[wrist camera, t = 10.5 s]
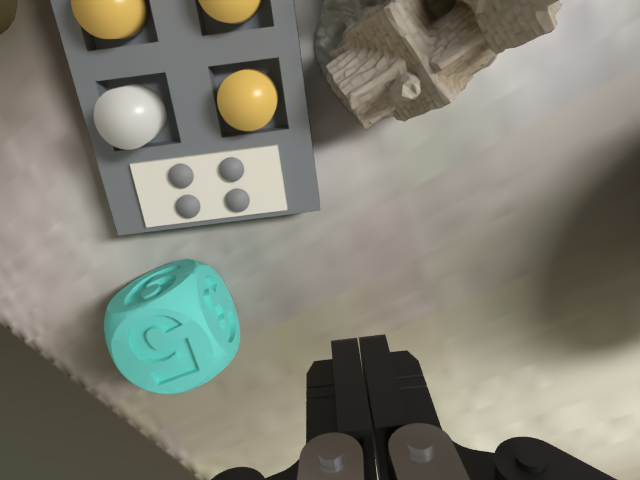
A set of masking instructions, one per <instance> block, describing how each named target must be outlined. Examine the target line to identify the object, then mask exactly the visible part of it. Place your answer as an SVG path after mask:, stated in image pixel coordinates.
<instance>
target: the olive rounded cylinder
mask: <svg viewBox="0 0 640 480" xmlns="http://www.w3.org/2000/svg"><path fill="white" fill-rule="evenodd" d="M16 8H17V0H0V34H1V33H3V32H4V31H5V30H7V29H8V28H9V26H10V25H11V23H12V21H13V20H14V18H15V13H16Z"/></svg>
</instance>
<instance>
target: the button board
mask: <svg viewBox="0 0 640 480" xmlns="http://www.w3.org/2000/svg"><path fill="white" fill-rule="evenodd" d="M50 1H51V5H52V8H53V12H54V15H55V19H56V22H57V26H58V29H59V33H60V36H61V40H62V43H63V47H64V50H65V53H66V57H67V60H68V64H69V67H70V71H71V74H72V78H73V81H74V85H75V88H76V92H77V95H78V98H79V102H80V105H81V109H82V112H83V116H84V119H85V123H86V126H87V130H88V133H89V137H90V140H91V144H92V147H93V150H94V154H95V157H96V161H97V164H98V168H99V171H100V175H101V178H102V182H103V185H104V189H105V192H106V196H107V199H108V202H109V206H110V209H111V213H112V216H113V220H114V223H115V227H116V230H117V234H118V236H119V235H127V234H135V233H143V232H151V231H159V230H167V229H175V228H183V227H192V226H200V225H208V224H216V223H224V222H232V221H240V220H248V219H256V218H264V217H272V216H280V215H288V214H296V213H305V212H313V211H320V200H319V192H318V184H317V176H316V168H315V161H314V153H313V145H312V137H311V129H310V122H309V114H308V106H307V98H306V91H305V83H304V75H303V67H302V60H301V52H300V44H299V36H298V28H297V21H296V13H295V5H294V0H262V3H261V6H260V9H259V10H258V12H257V13H256V15H255V16H254V17H253V18H251V19H250V20H248V21H246V22H244V23H240V24H231V23H225V22H221V21H218V20H216V19H214V18H212V17H211V16H210V15H208V14H207V13H206V12H205V10H204V9H203V8H202V6H201V5H200V3H199V1H198V0H147V3H148V12H149V13H148V20H147V23H146V25H145V27H144V28H143V30H142V31H141V32H140V33H139V34H137V35H136V36H134V37H132V38H128V39H102V38H98V37H96V36H93V35H91V34H90V33H88V32H87V31H86V30H85V29H84V28H83V27H82V26H81V25H80V24H79V23H78V21H77V20H76V18H75V16H74V14H73V11H72V7H71V0H50ZM246 68H253V69H258V70H261V71H263V72H264V73H266V74H267V75H268V76H269V77H270V78H271V79H272V80H273V82H274V83H275V85H276V88H277V91H278V104H277V108H276V110H275V112H274V114H273V116H272V118H271V120H270V121H269V122H268V123H267V124H266V125H265V126H263V127H262V128H260V129H257V130H254V131H242V130H239V129H236V128H234V127H232V126H231V125H229V124H228V123H227V122H226V121H225V120H224V118H223V117H222V115H221V114H220V111H219V109H218V104H217V95H218V90H219V88H220V86H221V84H222V82H223V81H224V80H225V79H226V78H227V77H228V76H230V75H231V74H233V73H235V72H237V71H239V70H242V69H246ZM131 84H139V85H143V86H146V87H148V88H150V89H152V90H153V91H154V92H156V93H157V94H158V95H159V97H160V98H161V99H162V101H163V103H164V105H165V108H166V113H167V120H166V125H165V127H164V129H163V131H162V132H161V133H160V134H159V135H158V136H157V137H155V138H154V139H152V140H151V141H149V142H148V143H146V144H145V145H143V146H141V147H139V148H137V149H131V150H126V149H120V148H117V147H115V146H113V145H111V144H109V143H108V142H107V141H106V140H105V139H103V137H102V136H101V135H100V134H99V132H98V130H97V128H96V126H95V122H94V107H95V104H96V102H97V100H98V99H99V97H100V96H101V95H102V94H104V93H105V92H107V91H109V90H111V89H115V88H119V87H122V86H126V85H131Z"/></svg>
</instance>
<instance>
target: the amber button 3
mask: <svg viewBox="0 0 640 480" xmlns="http://www.w3.org/2000/svg"><path fill="white" fill-rule="evenodd" d="M217 104H218V109H219V111H220V114H221V115H222V117H223V118H224V120H225V121H226V122H227V123H228V124H229V125H231V126H232V127H234V128H236V129H239V130H242V131H254V130H257V129H260V128H262V127H263V126H265V125H266V124H267V123H268V122H269V121H270V120H271V118H272V116H273V114H274V112H275V110H276V108H277V104H278V91H277V88H276V85H275V83H274V82H273V80H272V79H271V78H270V77H269V76H268V75H267V74H266V73H264V72H263V71H261V70H258V69H253V68H246V69H242V70H239V71H237V72H235V73H233V74H231V75H230V76H228V77H227V78H226V79H225V80H224V81H223V82H222V84H221V86H220V88H219V90H218V95H217Z"/></svg>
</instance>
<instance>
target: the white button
mask: <svg viewBox="0 0 640 480" xmlns="http://www.w3.org/2000/svg"><path fill="white" fill-rule="evenodd" d="M166 120H167V113H166V108H165V105H164V103H163V101H162V99H161V98H160V97H159V95H158V94H157V93H156V92H154V91H153V90H152V89H150V88H148V87H146V86H143V85H139V84H131V85H126V86H122V87H119V88H115V89H111V90H109V91H107V92H105V93H104V94H102V95H101V96H100V97H99V99H98V100H97V102H96V104H95V107H94V122H95V126H96V128H97V130H98V132H99V134H100V135H101V136H102V137H103V139H105V140H106V141H107V142H108V143H109V144H111V145H113V146H115V147H117V148H120V149H126V150H131V149H137V148H139V147H141V146H143V145H145V144H146V143H148V142H149V141H151V140H152V139H154V138H155V137H157V136H158V135H159V134H160V133H161V132H162V131H163V129H164V127H165V125H166Z"/></svg>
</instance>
